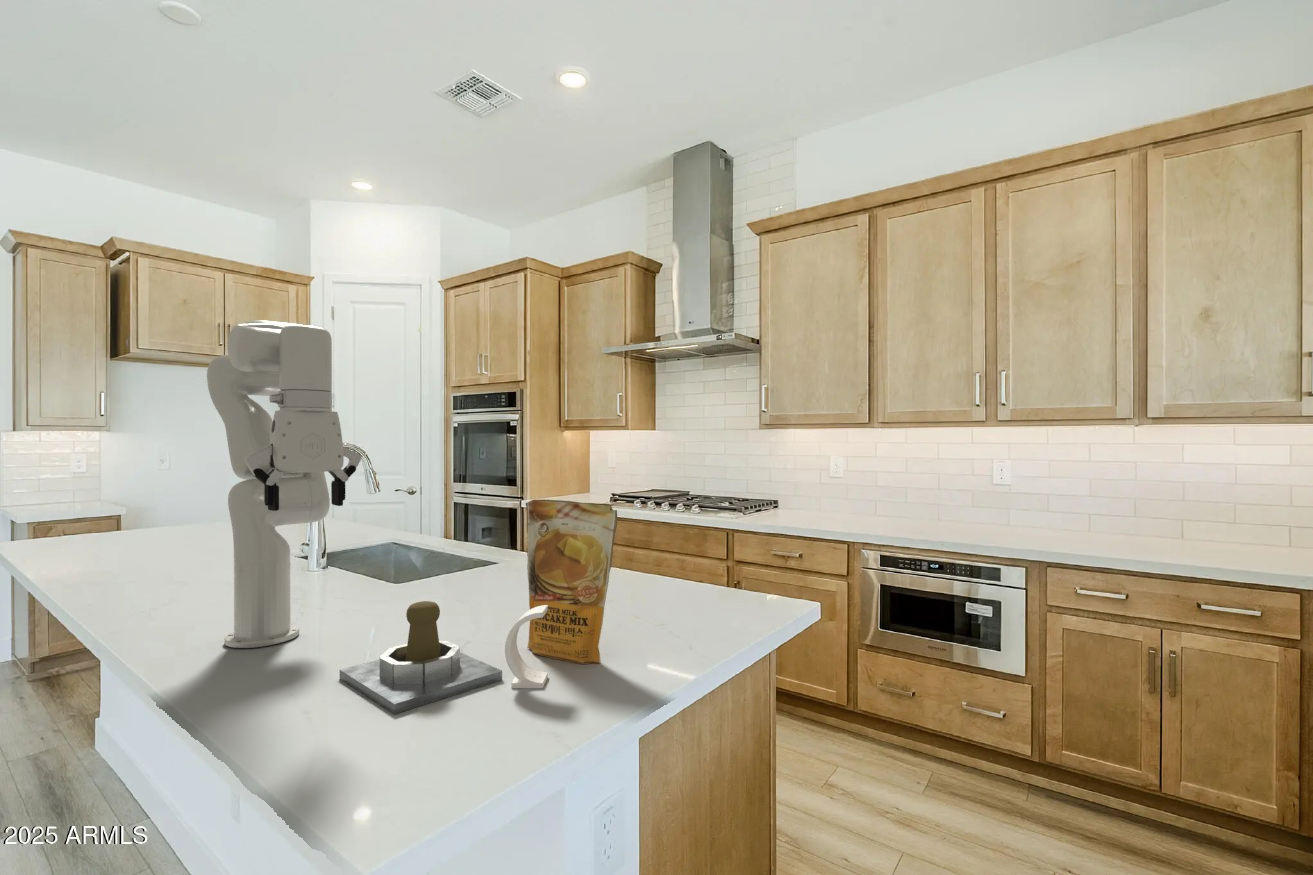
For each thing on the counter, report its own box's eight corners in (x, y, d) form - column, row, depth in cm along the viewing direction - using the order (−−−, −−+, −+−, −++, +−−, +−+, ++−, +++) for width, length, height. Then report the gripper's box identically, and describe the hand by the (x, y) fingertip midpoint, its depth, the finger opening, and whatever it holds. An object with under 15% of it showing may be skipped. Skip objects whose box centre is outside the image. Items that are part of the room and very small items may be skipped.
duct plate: (339, 678, 106) (339, 651, 106) (440, 651, 119) (440, 627, 119) (394, 714, 92) (394, 683, 92) (502, 679, 106) (502, 652, 106)
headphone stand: (542, 688, 102) (542, 612, 102) (504, 688, 102) (504, 612, 102) (548, 677, 107) (547, 604, 107) (511, 677, 107) (511, 604, 107)
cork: (420, 661, 110) (419, 596, 110) (450, 665, 108) (450, 599, 108) (395, 673, 104) (395, 605, 104) (426, 677, 102) (426, 608, 102)
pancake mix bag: (537, 641, 126) (537, 497, 125) (620, 657, 116) (620, 502, 116) (513, 651, 120) (513, 500, 120) (599, 669, 110) (599, 505, 110)
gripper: (252, 399, 96) (252, 514, 96) (369, 403, 109) (369, 505, 109) (238, 401, 101) (238, 510, 101) (351, 405, 114) (351, 502, 114)
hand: (306, 507), depth 105 cm, fingers open, 9 cm apart
